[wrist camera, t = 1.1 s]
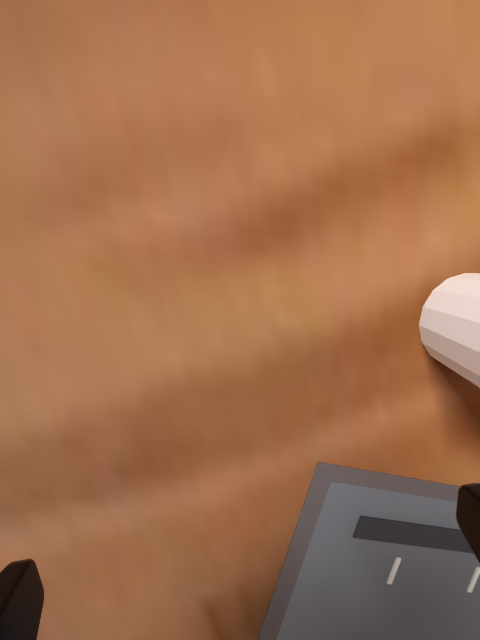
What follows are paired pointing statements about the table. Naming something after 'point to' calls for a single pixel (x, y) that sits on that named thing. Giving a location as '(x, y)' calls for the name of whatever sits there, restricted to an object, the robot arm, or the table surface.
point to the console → (376, 563)
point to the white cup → (454, 325)
